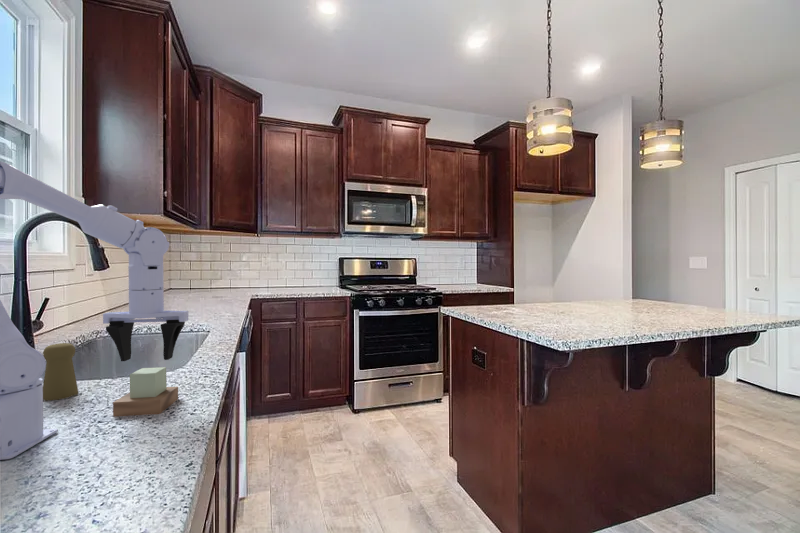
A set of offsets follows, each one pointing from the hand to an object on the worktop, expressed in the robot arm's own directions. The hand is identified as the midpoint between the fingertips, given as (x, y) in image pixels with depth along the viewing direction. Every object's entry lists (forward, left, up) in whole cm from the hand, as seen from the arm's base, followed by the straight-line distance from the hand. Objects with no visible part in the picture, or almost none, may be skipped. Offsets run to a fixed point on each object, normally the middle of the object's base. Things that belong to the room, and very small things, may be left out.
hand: (147, 359), depth 76 cm
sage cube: (0, 0, -7) cm, 7 cm away
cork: (+10, +22, -10) cm, 26 cm away
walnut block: (0, 0, -10) cm, 10 cm away
